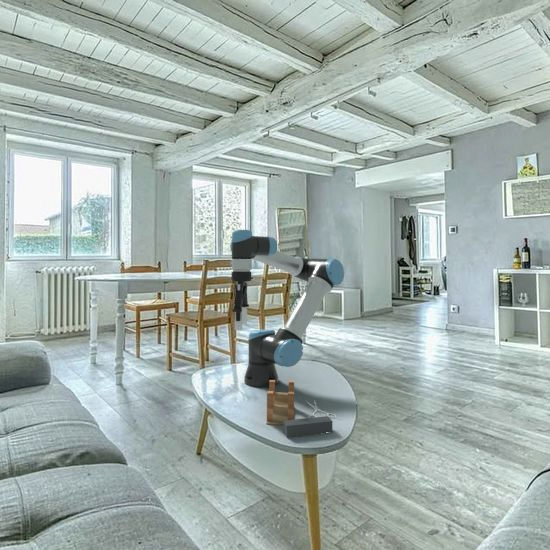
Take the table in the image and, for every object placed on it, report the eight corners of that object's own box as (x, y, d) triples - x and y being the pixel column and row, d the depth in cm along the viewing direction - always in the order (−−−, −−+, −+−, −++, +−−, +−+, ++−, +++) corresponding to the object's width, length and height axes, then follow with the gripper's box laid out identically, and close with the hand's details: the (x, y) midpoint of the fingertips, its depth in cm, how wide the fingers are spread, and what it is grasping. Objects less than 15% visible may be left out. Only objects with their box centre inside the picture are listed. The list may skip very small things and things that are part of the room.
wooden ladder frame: (269, 405, 143) (269, 379, 142) (293, 406, 142) (294, 379, 142) (266, 424, 127) (266, 394, 126) (293, 425, 126) (294, 395, 126)
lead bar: (327, 428, 125) (327, 416, 125) (332, 433, 121) (332, 421, 121) (283, 433, 121) (283, 420, 121) (286, 438, 117) (287, 425, 117)
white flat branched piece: (311, 421, 129) (296, 399, 149) (311, 423, 129) (296, 401, 149) (340, 419, 131) (322, 397, 151) (340, 421, 131) (322, 399, 151)
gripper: (236, 269, 158) (236, 321, 159) (225, 271, 133) (225, 332, 134) (254, 270, 158) (254, 321, 158) (247, 271, 133) (246, 332, 133)
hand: (241, 326), depth 146 cm, fingers open, 13 cm apart
